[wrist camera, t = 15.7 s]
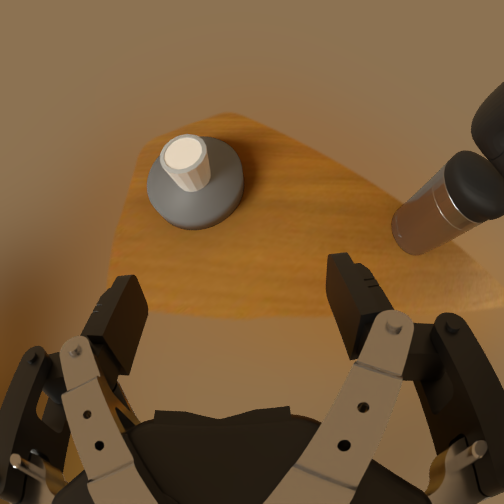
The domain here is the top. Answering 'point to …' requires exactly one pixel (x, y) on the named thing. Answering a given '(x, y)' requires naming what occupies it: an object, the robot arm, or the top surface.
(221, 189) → the stand
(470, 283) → the top surface
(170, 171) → the white cup
